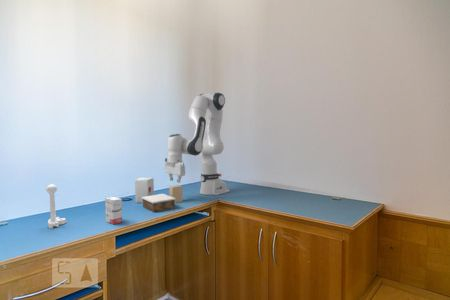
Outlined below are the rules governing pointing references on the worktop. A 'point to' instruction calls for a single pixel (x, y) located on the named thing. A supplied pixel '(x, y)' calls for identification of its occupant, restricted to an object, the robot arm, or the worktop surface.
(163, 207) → the podium
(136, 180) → the supplement box
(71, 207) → the worktop surface
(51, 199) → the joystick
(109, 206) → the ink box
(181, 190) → the carton
